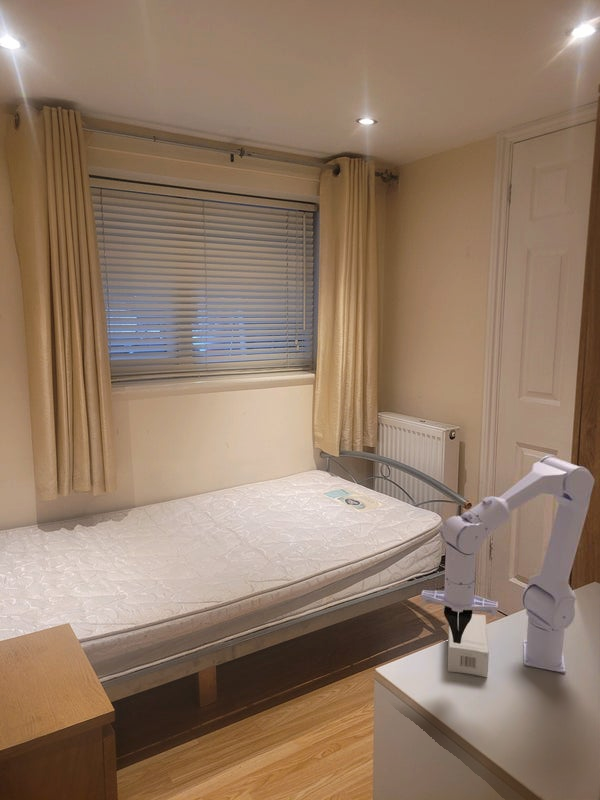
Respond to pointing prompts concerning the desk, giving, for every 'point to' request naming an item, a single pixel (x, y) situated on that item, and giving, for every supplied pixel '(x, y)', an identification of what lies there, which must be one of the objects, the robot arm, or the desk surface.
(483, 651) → the skincare box
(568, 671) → the desk surface
